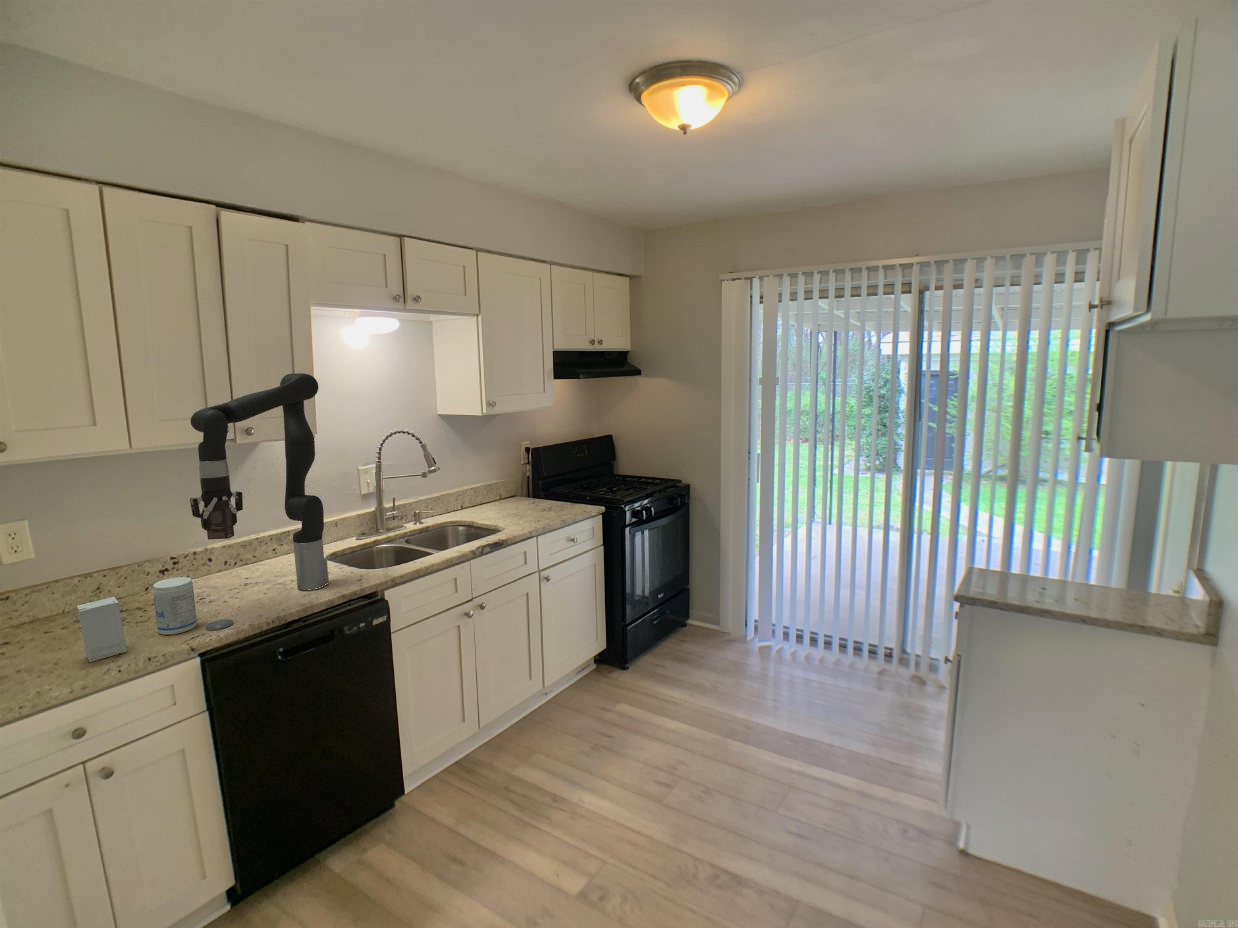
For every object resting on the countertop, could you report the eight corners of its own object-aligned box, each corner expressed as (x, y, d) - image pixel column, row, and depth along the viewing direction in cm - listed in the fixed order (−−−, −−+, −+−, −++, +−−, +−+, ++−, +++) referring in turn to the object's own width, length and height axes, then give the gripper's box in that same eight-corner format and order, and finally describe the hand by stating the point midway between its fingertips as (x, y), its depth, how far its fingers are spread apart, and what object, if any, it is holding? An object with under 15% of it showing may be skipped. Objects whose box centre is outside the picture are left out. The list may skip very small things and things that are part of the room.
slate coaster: (227, 619, 188) (226, 617, 188) (237, 624, 184) (237, 622, 184) (201, 627, 182) (201, 625, 182) (212, 632, 178) (211, 630, 178)
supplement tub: (150, 632, 179) (144, 584, 177) (184, 620, 187) (179, 574, 185) (170, 638, 175) (164, 589, 173) (204, 625, 184) (199, 578, 181)
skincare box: (123, 646, 170) (116, 595, 168) (127, 652, 166) (120, 600, 164) (84, 656, 164) (76, 603, 162) (87, 663, 160) (79, 609, 158)
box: (235, 535, 192) (231, 498, 190) (227, 539, 187) (223, 501, 185) (214, 536, 191) (211, 498, 189) (206, 540, 187) (202, 501, 185)
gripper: (234, 470, 194) (239, 521, 197) (182, 477, 183) (188, 530, 185) (245, 472, 190) (250, 524, 192) (193, 479, 178) (199, 534, 181)
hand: (219, 527), depth 189 cm, fingers closed on box, 7 cm apart
